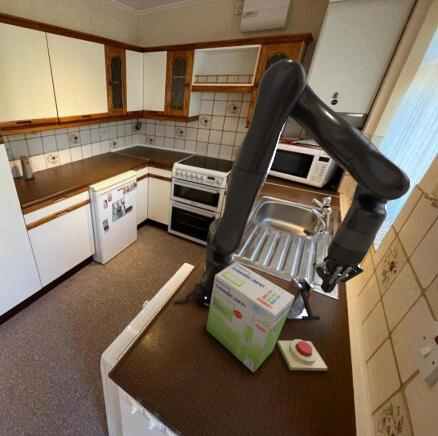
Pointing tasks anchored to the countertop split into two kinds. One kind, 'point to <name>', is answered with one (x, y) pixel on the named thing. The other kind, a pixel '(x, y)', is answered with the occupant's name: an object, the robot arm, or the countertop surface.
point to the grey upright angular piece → (298, 299)
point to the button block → (299, 361)
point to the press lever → (306, 303)
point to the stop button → (304, 348)
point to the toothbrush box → (247, 313)
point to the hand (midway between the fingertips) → (325, 290)
